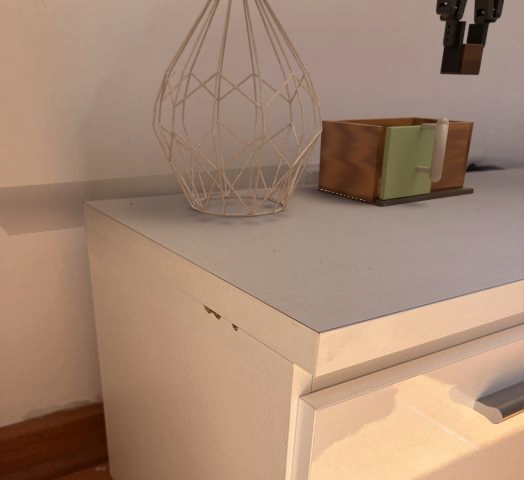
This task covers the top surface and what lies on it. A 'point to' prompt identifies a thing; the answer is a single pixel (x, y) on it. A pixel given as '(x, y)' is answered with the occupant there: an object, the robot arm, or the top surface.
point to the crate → (372, 153)
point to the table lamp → (193, 157)
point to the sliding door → (413, 159)
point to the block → (469, 60)
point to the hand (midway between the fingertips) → (460, 72)
